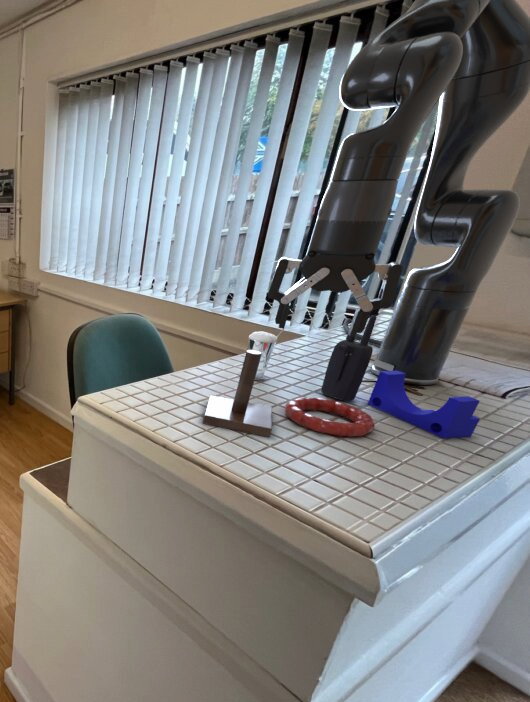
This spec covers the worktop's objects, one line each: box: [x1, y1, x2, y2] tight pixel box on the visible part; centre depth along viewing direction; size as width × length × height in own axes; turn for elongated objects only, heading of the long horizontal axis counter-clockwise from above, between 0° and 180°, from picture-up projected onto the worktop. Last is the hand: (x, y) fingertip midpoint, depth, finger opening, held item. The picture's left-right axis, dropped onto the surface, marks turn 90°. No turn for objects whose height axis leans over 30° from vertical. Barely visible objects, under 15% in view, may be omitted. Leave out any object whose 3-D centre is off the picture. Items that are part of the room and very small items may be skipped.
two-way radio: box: [320, 314, 378, 402], centre depth 78 cm, size 6×4×15 cm
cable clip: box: [367, 370, 481, 439], centre depth 72 cm, size 12×4×6 cm, turn 5°
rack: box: [202, 350, 273, 438], centre depth 72 cm, size 9×9×12 cm
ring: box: [284, 397, 376, 437], centre depth 73 cm, size 11×11×2 cm
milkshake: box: [246, 328, 285, 381], centre depth 88 cm, size 4×5×10 cm
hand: (315, 331), depth 69 cm, fingers open, 8 cm apart
